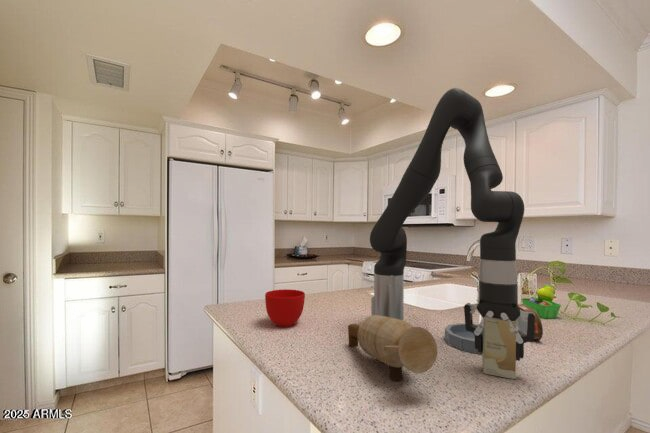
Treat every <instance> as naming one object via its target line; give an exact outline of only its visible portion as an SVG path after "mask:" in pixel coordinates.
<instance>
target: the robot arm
mask: <svg viewBox="0 0 650 433" xmlns="http://www.w3.org/2000/svg"><path fill="white" fill-rule="evenodd" d="M450 128H452V129H454V130H456V131H458V132H459V134H460V135H461V137H462V139H463V141H464V144H465V145H464V146H465V148H464V152H463V165H464V169H465V172H466V175H467V176H468V180H469V183H470V210H471V213H472V215H473V217H474V218H475V219H476V220H478V221H480V222H482V223H483V222H484V223H497V225H496V228H495V230H494V231H491V232H488V233H487V232H486V233H484V234H482V235H481V236H480V239H479V241H480V242H479V255H480V256H479V265H478V266H479V267H478V292H479V293H478V297H479V298H478V303H477V304H471V302H466V303H465V304H464V306H463V311H464V312H463V313H464V314H463V315H464V323H465V327H466V330H467V331H470V332H472V333H473V334H474V335H475V348H476V349H478V352H480V353H482V351H483V334H481V332H482V330H483V329H484V317H488V318H492V317H493V318H499V319H503V321H509V322H510V332H511V333H516V361H518V362H519V361H521V359H524V356H525V355H524V354H525V352H524V351H525V350H524V349H525V344H526V343H533V342H534V325H535V313H534V312H532V311H530V312H525V311H520V309H519V307H518V304H519V303H518V299H519V298H518V297H519V296H518V295H519V294H518V292H519V291H518V280H519V278H518V268H517V246H516V245H517V244H516V243H517V239H518V235H519V233H520V228H521V224H522V222H523V218H524V214H525V204H524V200H523V198H522V197H521V195H520V194H519V193H517V192H515V191H511V190H509V191H504V190H501V191H499V190H493V189H495V188H497V187H498V186H500V185H501V183H502V182H503V179H504V176H503V172H502V169H501V168H500V165H499V163H498V160H497V158H496V156H495V153H494V150H493V149H492V146H491V142H490V139H489V135H488V132H487V126H486V121H485V115H484V110H483V106H482V104H481V102H480V101H479V100H478V99H477V98H476V97H474V96H472V95H471V94H469V93H468V92H466V91H464V90H463V89H461V88H459V87H453V88H449V89H448V90H447V91H446V92H445V93H443V95H442V96H441V97H440V99H439V101H438V102H437V104H436V106H435V108H434V110H433V113H432V115H431V118H430V120H429V122H428V125H427V127H426V129H425V132H424V134H423V137H422V139H421V140H420V143H419V145H418V147H417V149H416V152H414V155H413V157H412V159H411V160H410V162H409V163H408V166H407V167H406V170H405V171H404V173H403V175H402V177H401V179H400V181H399V183H398V185H397V187H396V189H395V191H394V192H393V195H392V196H391V199H390V201H389V202H388V203H387V206H386V208H385V209H384V211H383V212H382V213H381V215H380V217H379V218H378V220H377V221H376V222H375V224H374V226H373V227H372V228H371V232H370V233H369V244H370V247H371V248H372V249H373V250H374V251H375V252H377V253H380V256H379V259H378V261H377V262H376V263H375V264H374V266H373V268H374V269H373V273H374V274H373V275H374V277H373V282H374V284H373V296H372V297H371V304H370V305H371V312H370V313H371V315H380V316H385V317H390V318H395V319H400V320H404V317H405V316H404V311H405V309H404V308H405V307H404V305H405V304H404V297H405V296H404V280H405V279H404V274H405V272H404V270H405V267H406V265H407V254H408V253H407V251H408V250H407V249H408V248H407V247H408V237H407V233H406V231H405V229H404V228H403V225H404V223H405V221H406V220H407V218H408V217H409V216H410V215H411V213H413V211H414V210H416V208H418V206H420V204H421V203H422V202H424V200H425V199H426V198H427V197H428V196H429V195H430V193H431V191H432V189H433V188H434V186H435V184H436V182H437V180H438V179H439V177H440V174H441V168H442V148H443V144H444V141H445V138H446V136H447V134H448V132H449V131H450V130H449V129H450ZM476 310H477V312H478V313H479V315H481V317H482V319H481V320H480V322H479V324H478V326H477V327H475V326H474V325H473V324H474V321H473V319H474V318H473V315H474V314H475V312H476ZM371 315H370V316H371ZM519 316H522V317H523V320H524V321H525V322H526V323H528V325H527V334H526V335H523V334H522V333H521V332H520V330H519V329H518V326H517V325H516V328H515V327H514V325H513V324H512V322H511V321H515V320H516V319H517V318H518V317H519ZM511 327H512V328H511Z"/></svg>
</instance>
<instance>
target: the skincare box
mask: <svg viewBox="0 0 650 433" xmlns="http://www.w3.org/2000/svg"><path fill="white" fill-rule="evenodd" d="M511 322H512V324H513V325H514V327H515V328H516V321H511ZM511 328H512V327H511ZM481 355H482V356H481V357H482V360H481V363H482V364H481V367H482V371H483V374H485V375H490V376H496V377H502V378H505V379H512V380H516V377H517V376H516V374H517V373H516V372H517V370H516V369H517V365H516V364H517V360H516V333H511V332H510V322H509V321H503V319H499V318H493V317H492V318H488V317H484V329H483V351H482V354H481Z"/></svg>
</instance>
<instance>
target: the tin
mask: <svg viewBox="0 0 650 433" xmlns="http://www.w3.org/2000/svg"><path fill="white" fill-rule="evenodd" d="M518 307H519V309H520V311H525V312H530V311H532V312H534V313H535V325H534V340H535V341H540V340H542V338H543V333H544V327H543V323H542V320H541V319H542V318H541V317H539V315H538V313H537V312H536V311H535V310H533V309H531V308H529V307H528V306H526V305H524V304H523V303H522V304H520V303H518ZM515 321H516V325H517V326H518V329H519V330H520V332H521V334H522V335H526V334H527V325H528V323H526V322H525V321H524V320H523V317H522V316H519V317H518V318H517V319H516V320H515ZM534 340H533V341H534Z"/></svg>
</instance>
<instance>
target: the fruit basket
mask: <svg viewBox="0 0 650 433" xmlns="http://www.w3.org/2000/svg"><path fill="white" fill-rule="evenodd" d="M554 293H555V290H554V288H553V286H552V285H549V284H544V285H543V286H542V287H541V288H539V289H537V290H536V292H535V294H536V296H537V297H534V296H532V297H530V298H529V297H526V298H525V297H524V298H523V297H522V298H521V303H522V304H524V305H526V306H528V307H529V308H531V309H533V310H535V311H536V312H537V313H538V315H539V317H540V319H557V318H558V314H559V311H560V308H561V307H562V304H559V303H557V302H554V298H555V296H554Z"/></svg>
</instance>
